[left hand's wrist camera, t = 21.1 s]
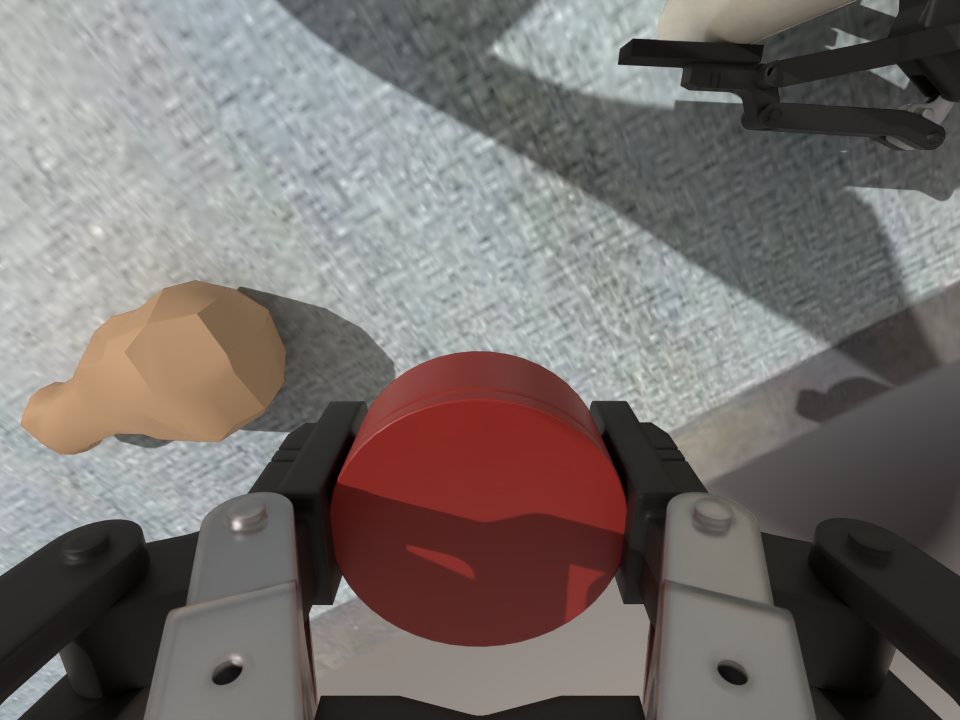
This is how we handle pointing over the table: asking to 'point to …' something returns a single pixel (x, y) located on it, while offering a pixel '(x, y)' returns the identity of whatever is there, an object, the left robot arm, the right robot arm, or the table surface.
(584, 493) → the lid
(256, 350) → the squash
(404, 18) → the table surface
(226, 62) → the table surface
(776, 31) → the slim white bottle
